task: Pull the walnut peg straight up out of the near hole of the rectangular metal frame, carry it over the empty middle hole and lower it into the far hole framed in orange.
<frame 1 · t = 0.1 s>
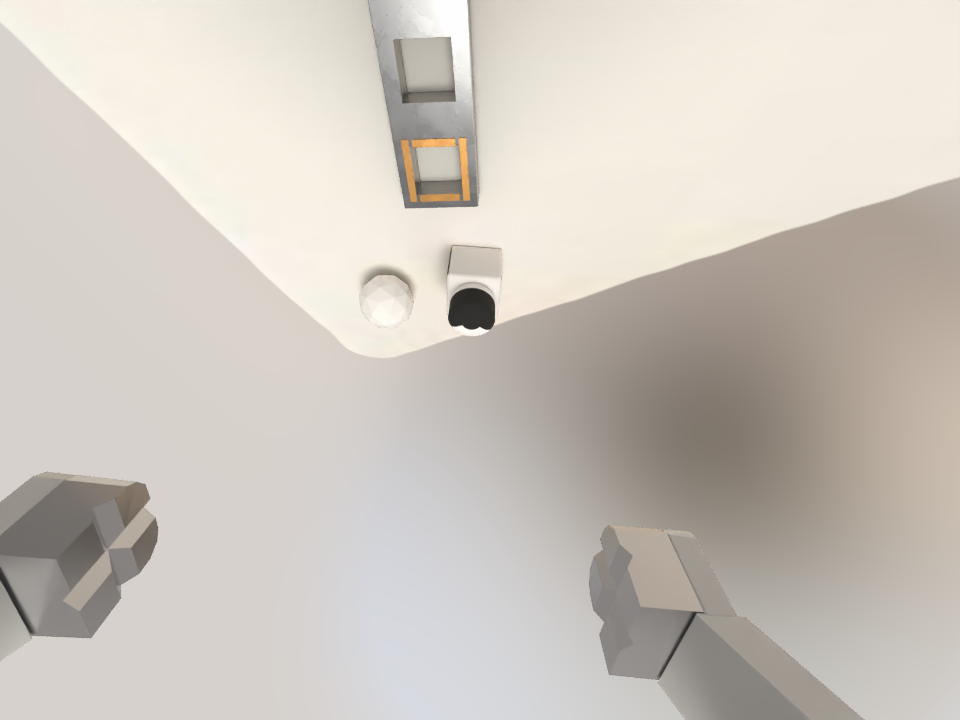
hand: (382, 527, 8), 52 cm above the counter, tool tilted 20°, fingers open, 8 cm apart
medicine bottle: (475, 266, 66), on the counter
ball: (391, 285, 69), on the counter
rectangular metal frame: (429, 62, 48), on the counter
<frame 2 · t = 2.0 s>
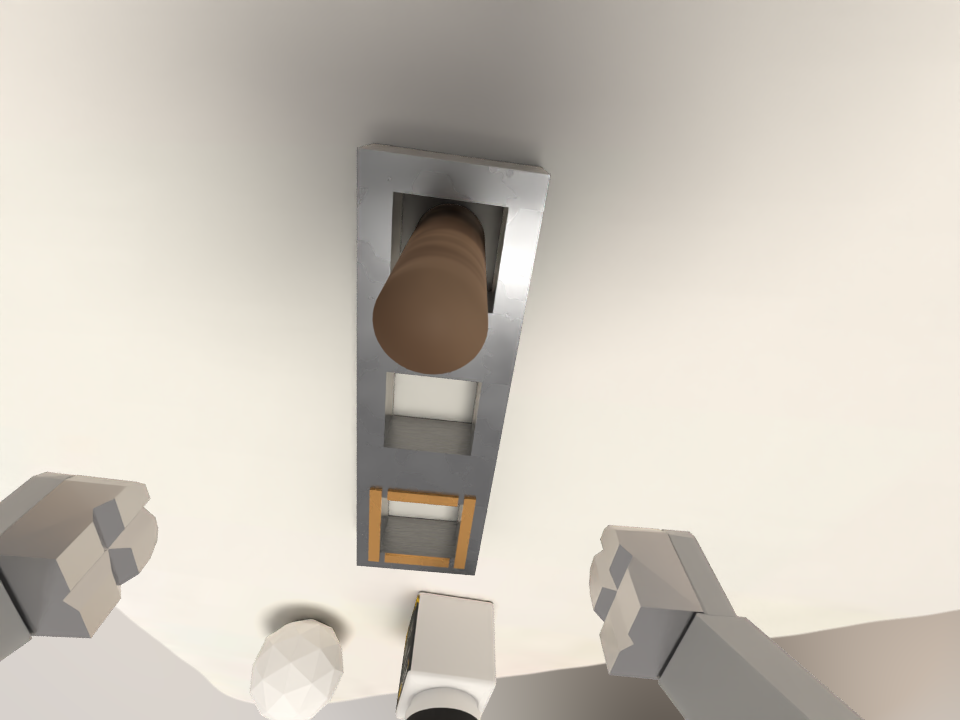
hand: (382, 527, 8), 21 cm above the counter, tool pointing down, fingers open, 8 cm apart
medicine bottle: (449, 616, 44), on the counter
ball: (312, 625, 44), on the counter
rectangular metal frame: (435, 386, 31), on the counter
walnut peg: (450, 239, 26), resting in rectangular metal frame
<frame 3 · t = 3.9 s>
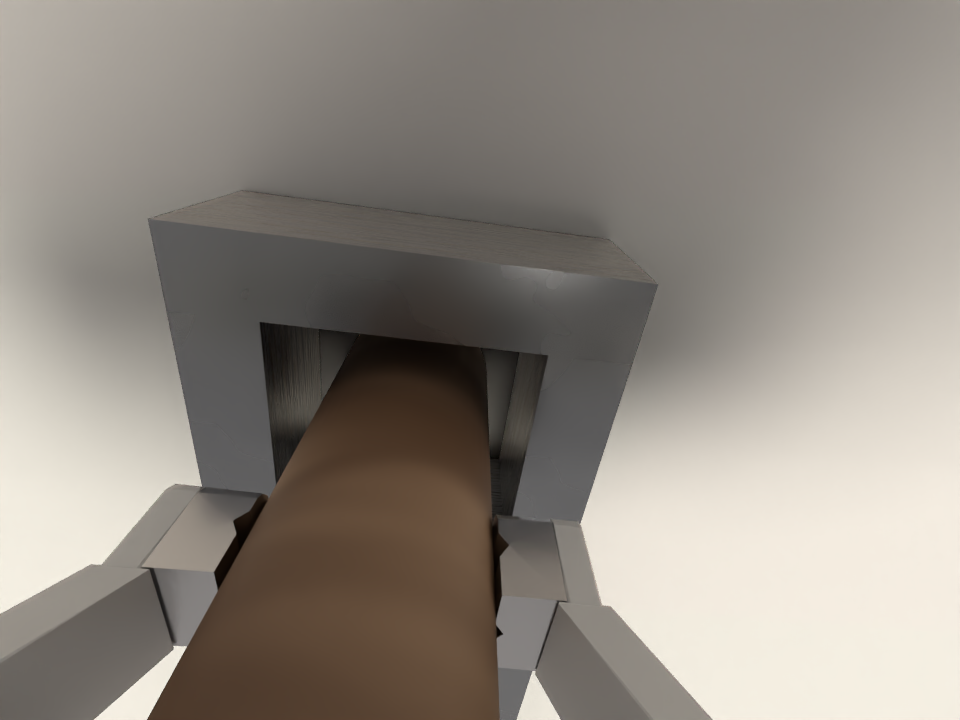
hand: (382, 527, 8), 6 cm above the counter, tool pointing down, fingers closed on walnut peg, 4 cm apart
rectangular metal frame: (400, 594, 18), on the counter
walnut peg: (417, 374, 13), resting in rectangular metal frame, touching gripper
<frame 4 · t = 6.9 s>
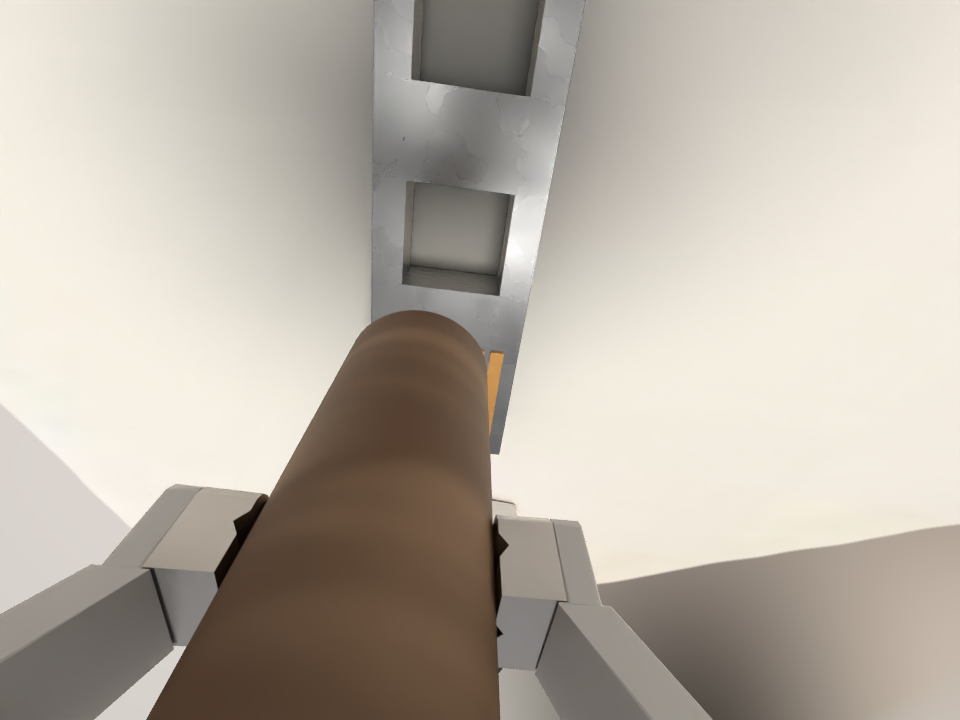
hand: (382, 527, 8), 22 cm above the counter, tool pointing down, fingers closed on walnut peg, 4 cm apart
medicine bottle: (467, 522, 41), on the counter
rectangular metal frame: (458, 226, 28), on the counter
walnut peg: (418, 374, 13), point 17 cm above the counter, touching gripper
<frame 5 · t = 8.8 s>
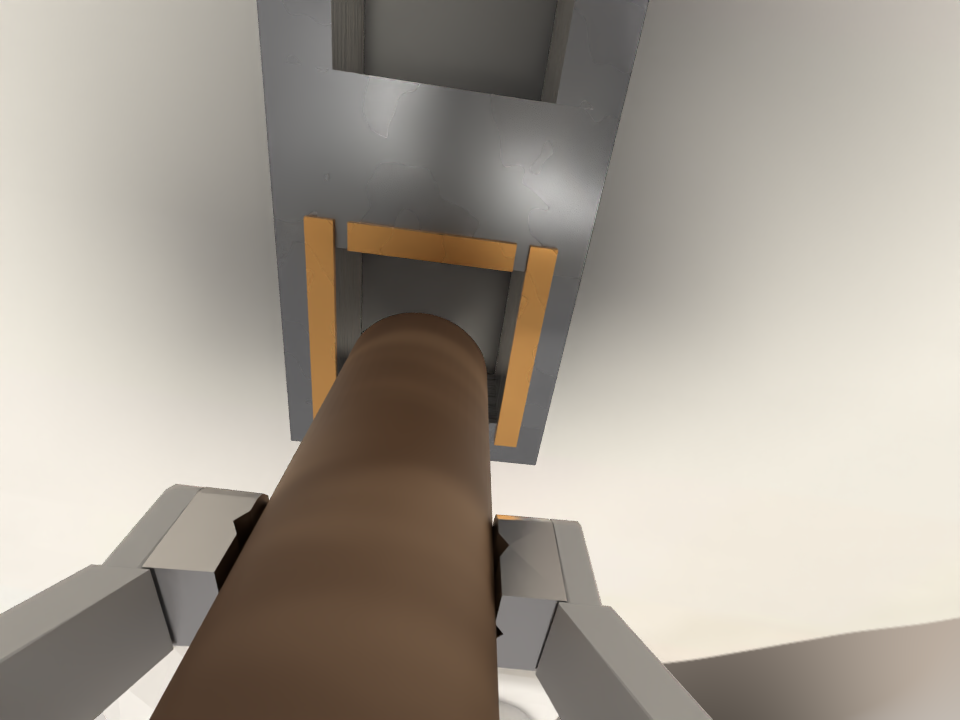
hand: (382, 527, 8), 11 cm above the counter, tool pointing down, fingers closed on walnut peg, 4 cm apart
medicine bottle: (471, 573, 26), on the counter
ball: (239, 589, 26), on the counter
walnut peg: (418, 376, 13), point 5 cm above the counter, touching gripper
when the fingers open (7 cm above the counter, at t = 10.1 s): walnut peg stays where it is, resting in rectangular metal frame.
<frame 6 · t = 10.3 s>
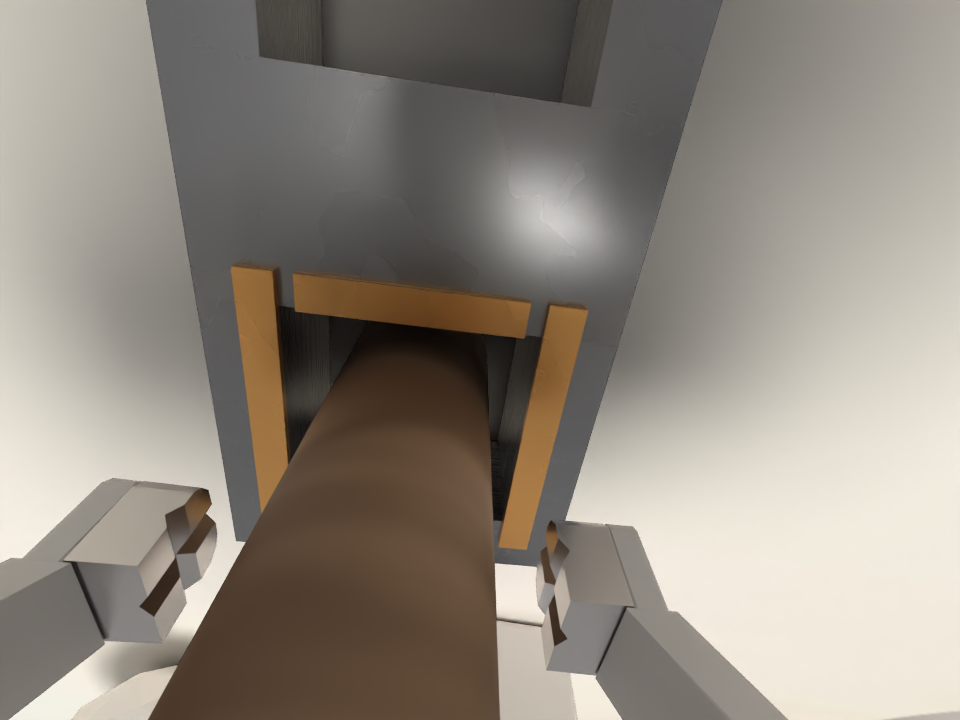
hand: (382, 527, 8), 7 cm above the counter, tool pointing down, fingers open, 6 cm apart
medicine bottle: (469, 656, 22), on the counter
ball: (198, 674, 22), on the counter
walnut peg: (422, 359, 14), resting in rectangular metal frame
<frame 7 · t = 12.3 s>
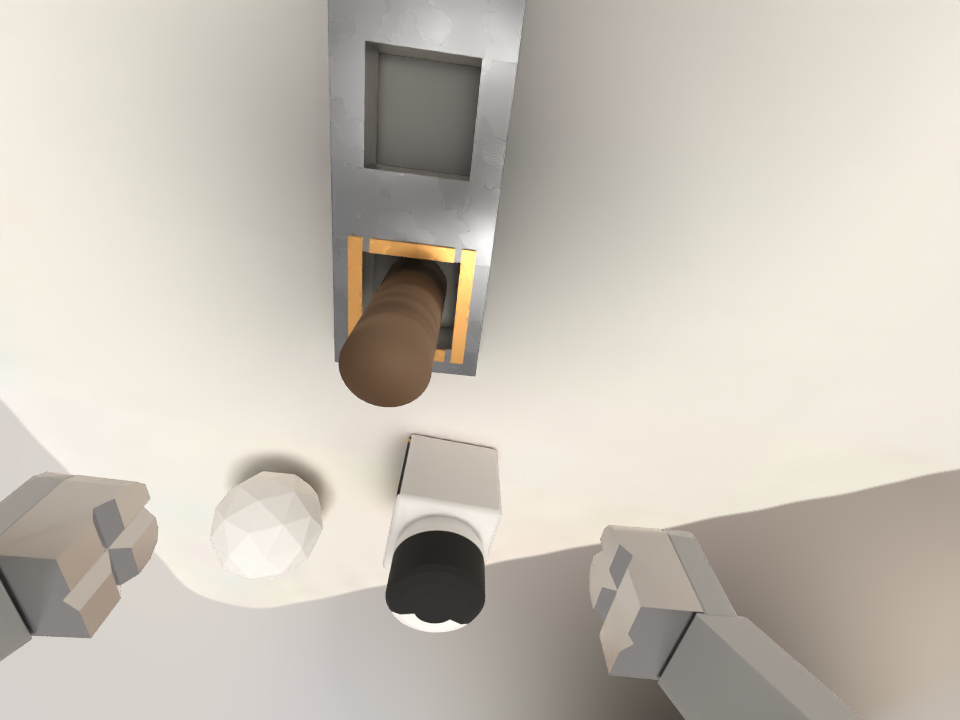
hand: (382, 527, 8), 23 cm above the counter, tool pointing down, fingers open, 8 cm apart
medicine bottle: (446, 472, 38), on the counter
ball: (288, 487, 38), on the counter
rectangular metal frame: (426, 117, 26), on the counter
walnut peg: (416, 285, 30), resting in rectangular metal frame
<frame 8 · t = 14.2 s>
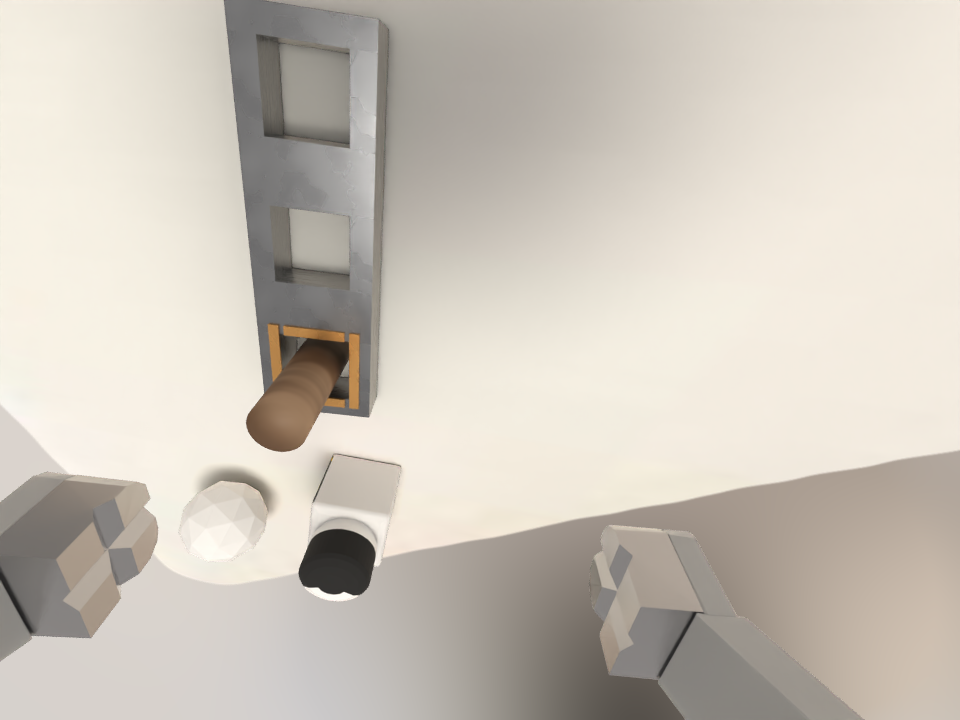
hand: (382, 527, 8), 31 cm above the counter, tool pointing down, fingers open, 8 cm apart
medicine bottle: (364, 482, 49), on the counter
ball: (243, 492, 50), on the counter
rectangular metal frame: (325, 238, 37), on the counter
walnut peg: (328, 348, 41), resting in rectangular metal frame
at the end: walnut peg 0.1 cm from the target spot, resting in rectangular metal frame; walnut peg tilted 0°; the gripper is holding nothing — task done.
